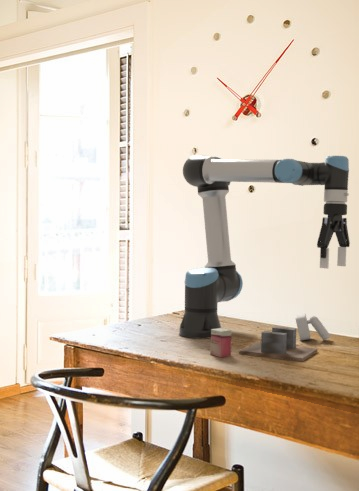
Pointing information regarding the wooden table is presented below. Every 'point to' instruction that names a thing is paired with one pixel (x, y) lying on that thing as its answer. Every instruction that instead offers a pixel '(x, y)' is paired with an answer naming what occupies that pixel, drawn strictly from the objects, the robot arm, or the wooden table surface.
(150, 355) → the wooden table surface
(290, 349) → the slotted post block
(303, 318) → the wall hook
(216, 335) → the small box
